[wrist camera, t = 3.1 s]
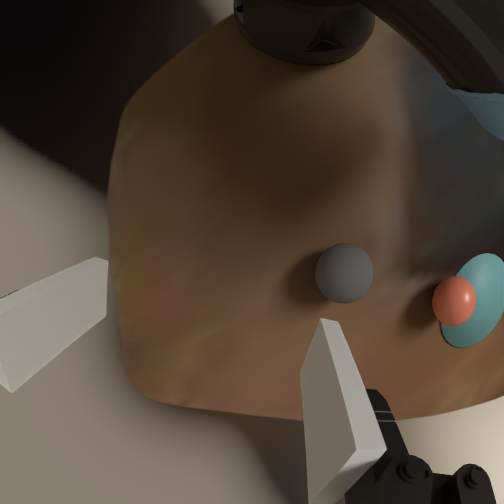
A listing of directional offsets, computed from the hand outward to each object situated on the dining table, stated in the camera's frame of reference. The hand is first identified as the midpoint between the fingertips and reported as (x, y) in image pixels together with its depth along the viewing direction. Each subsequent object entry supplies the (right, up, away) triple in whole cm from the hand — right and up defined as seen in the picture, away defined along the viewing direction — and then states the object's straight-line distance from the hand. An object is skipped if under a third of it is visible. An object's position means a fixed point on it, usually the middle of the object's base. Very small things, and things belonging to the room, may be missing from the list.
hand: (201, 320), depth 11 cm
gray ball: (+11, +1, +14) cm, 18 cm away
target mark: (+31, -4, +16) cm, 35 cm away
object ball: (+24, -3, +13) cm, 28 cm away
